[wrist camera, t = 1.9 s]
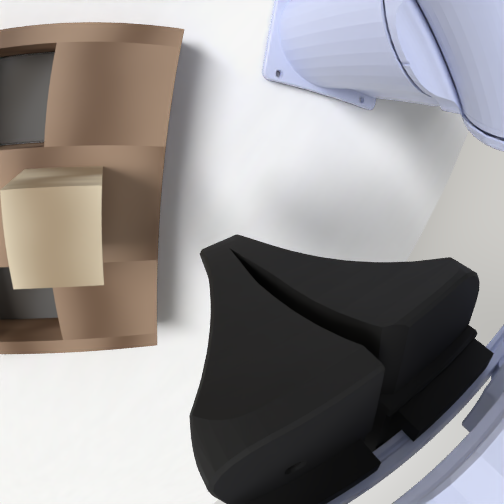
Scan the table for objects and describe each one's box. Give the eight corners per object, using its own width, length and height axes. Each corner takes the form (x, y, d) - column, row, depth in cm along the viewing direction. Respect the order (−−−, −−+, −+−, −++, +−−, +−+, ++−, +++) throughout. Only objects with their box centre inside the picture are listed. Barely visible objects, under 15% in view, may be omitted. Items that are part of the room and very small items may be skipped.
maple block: (102, 166, 13) (101, 185, 10) (102, 244, 15) (104, 285, 12) (24, 169, 11) (0, 190, 8) (30, 248, 13) (13, 289, 10)
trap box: (173, 39, 14) (192, 21, 11) (150, 321, 21) (162, 361, 18) (-86, 63, 6) (-119, 60, 3) (-59, 329, 13) (-74, 366, 10)
